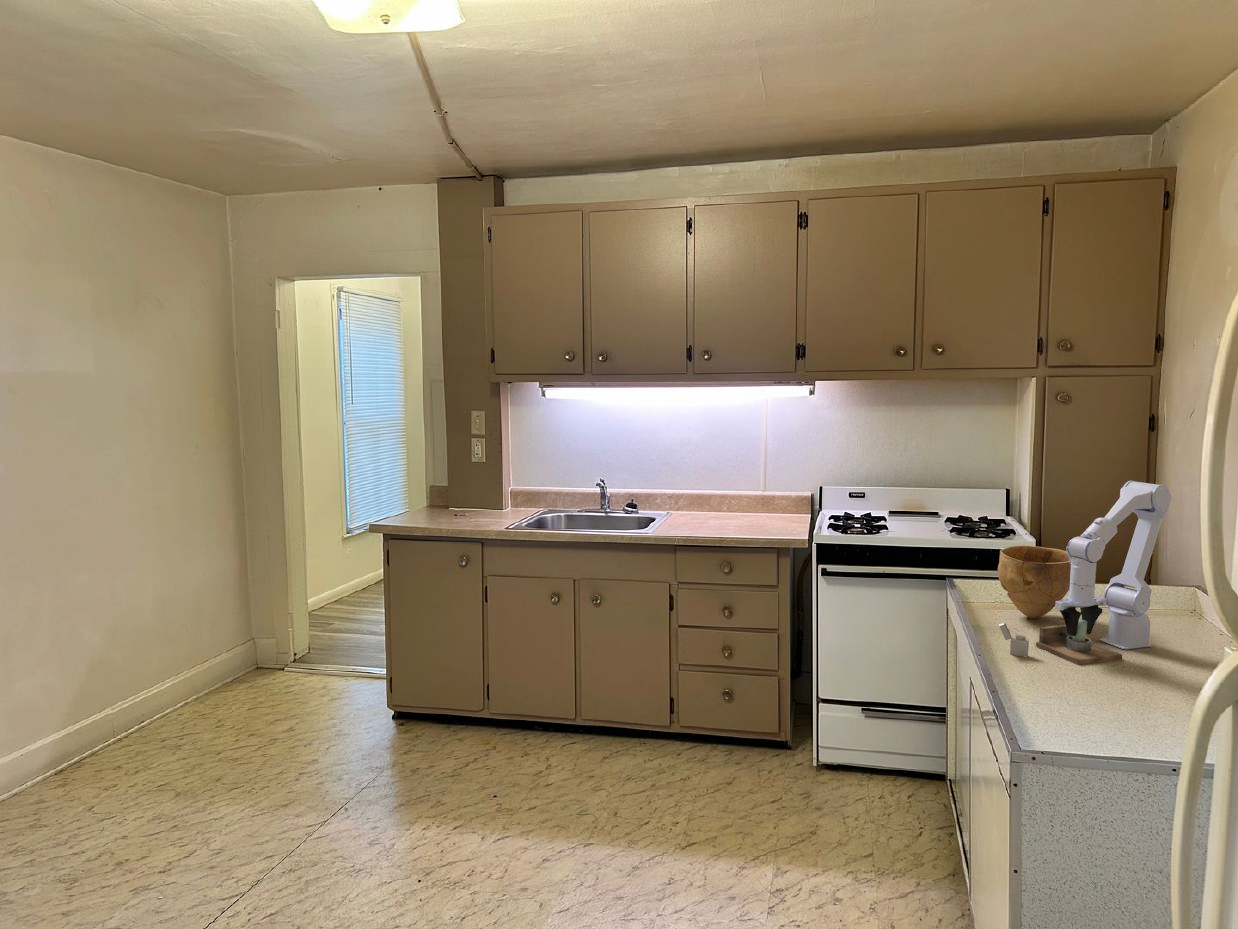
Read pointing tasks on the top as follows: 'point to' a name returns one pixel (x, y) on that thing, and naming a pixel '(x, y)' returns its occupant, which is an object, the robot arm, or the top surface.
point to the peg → (1081, 631)
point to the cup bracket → (1073, 646)
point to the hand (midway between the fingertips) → (1079, 634)
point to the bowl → (1034, 577)
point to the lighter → (1015, 642)
